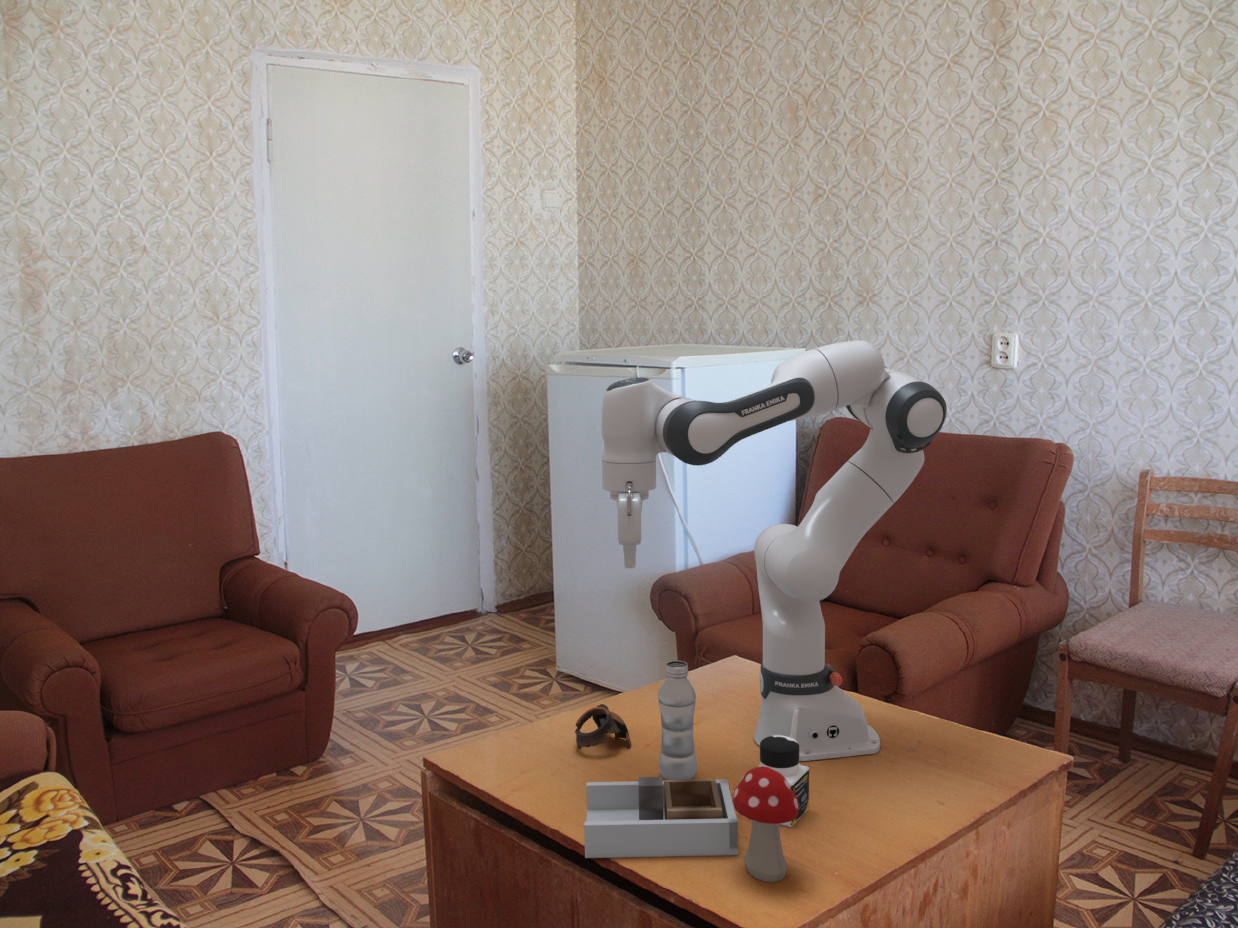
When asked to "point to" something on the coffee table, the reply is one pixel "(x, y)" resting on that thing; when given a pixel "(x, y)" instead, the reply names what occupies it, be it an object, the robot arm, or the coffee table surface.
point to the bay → (652, 826)
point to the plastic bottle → (677, 723)
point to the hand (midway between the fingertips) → (630, 560)
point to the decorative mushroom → (765, 820)
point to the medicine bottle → (787, 768)
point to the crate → (678, 799)
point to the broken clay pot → (601, 727)
